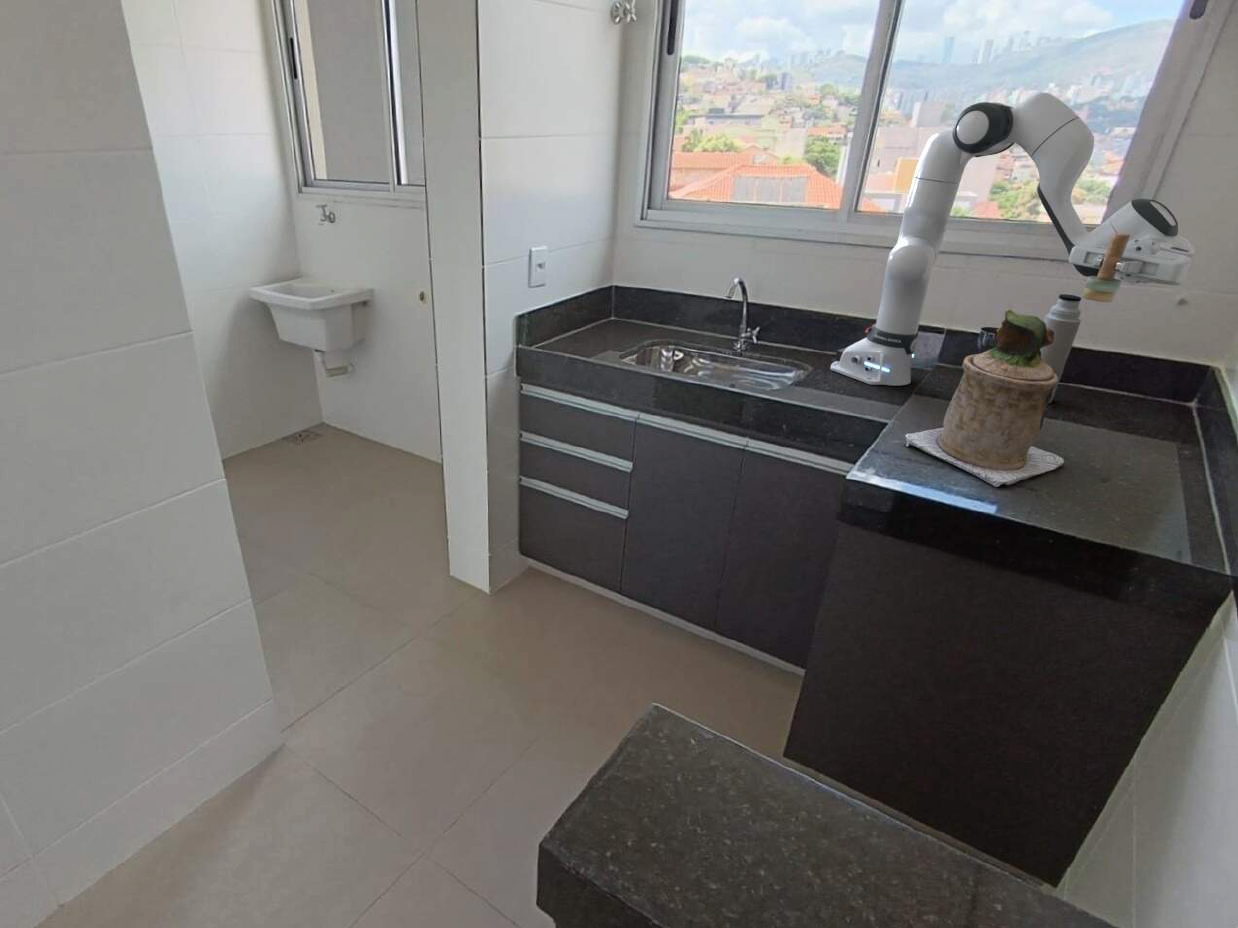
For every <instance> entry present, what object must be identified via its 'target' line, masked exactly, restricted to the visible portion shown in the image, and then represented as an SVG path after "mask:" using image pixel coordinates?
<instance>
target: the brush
mask: <svg viewBox="0 0 1238 928" xmlns="http://www.w3.org/2000/svg"><path fill="white" fill-rule="evenodd" d="M1129 237H1130V235H1128V234H1121V233H1113V235H1112V238H1111V240H1110V243H1109V246H1108V248H1107V251H1106V254H1105V257H1104V259H1103V262H1102V265H1101V267H1100V270H1099V273H1098V275H1097V276H1089V277H1087V280H1086V282H1085V285H1084V287H1085V288H1084V291H1083V294H1082V298H1083V299H1085V300H1089V301H1093V302H1098V303H1099V302H1100V303H1113V301H1114V299H1115V296H1116V294H1117V293H1118V292H1119V289H1120V286H1121V284H1122V280H1121V279H1118V278H1115V277H1116V271H1115V270H1114V269H1115V267H1116V264H1117V262H1118V261H1121V258H1122V256H1123V253H1124V250H1125V248H1126V245H1127V243H1128V240H1129Z"/></svg>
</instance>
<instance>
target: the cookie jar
mask: <svg viewBox="0 0 1238 928" xmlns="http://www.w3.org/2000/svg"><path fill="white" fill-rule="evenodd" d="M1004 313H1005V314H1004V319H1003V320H1002V321H1001V326H1000V327H998V328H999V329H998V330H997V332H998V335H997V337H998V345H997V347H995V348H993V349H990V350H988V351H986V352H984V353H982V354H981V353H977V354H970V355H967V356H965V358H964V359H963V362H962V369H963V374H962V376H961V379H960V381H959V384H958V386H957V387H956V390H955V391H954V394H953V395H952V398H951V400H950V403H949V405H948V407H947V408H946V412H945V415H944V418H943V427H940V428H938V427H937V428H935V429H926V430H924V431H923V430H922V431H916V432H912V433H906V434H905V436H904V437H905V439H906V445H905V447H909V446H910V445H911V446H913V447H916V448H918V449H920V450H921V451H923V452H925V453H927V454H929V455H930V456H933V457H936V458H938V459H940V460H943V461H945V462H946V463H949V464H951V465H953V466H956V467H958V468H959V469H962V470H963V471H965V472H968V473H969V474H972V476H973V475H974V476H975V477H977V478H979V479H981V480H982V481H984V482H986V483H988V484H990V485H992V486H994V487H996V488H998V487H1000V486H1001V485H1006V486H1011V485H1013V484H1016V483H1018V482H1020V481H1022V480H1023V481H1024V480H1027V479H1029V478H1033V477H1035V476H1038V475H1042V474H1045V473H1046V472H1050V471H1054V470H1057V468H1059V467H1061V466H1063V464H1064V463H1065V460H1064V458H1063V457H1060V456H1059V455H1058V454H1055V453H1052V452H1050V451H1046V450H1043V449H1041V448H1037V447H1035V446H1033V444H1034V443H1035V441H1036V440H1037V439H1038V437H1039V436H1040V435H1039V434H1040V431H1041V430H1042V428H1043V424H1044V420H1045V411H1046V407H1047V406H1048V405H1049V403H1048V402H1049V401H1050V399H1051V397H1052V390H1053V388H1054V386H1055V385H1056V384H1057V382H1058V378H1057V375H1056V374H1055V373H1054V372H1053V370H1052V368H1051V367H1050V366H1049V365H1048V364H1046V363H1045V362H1044V361H1043V360H1042V359H1041V351H1040V349H1041V348H1042V347H1044V346H1048V345H1050V344H1052V343H1053V342H1054V332H1053V330H1052V329H1050V328H1048V327H1046V324H1045V322H1044V320H1042V319H1041V318H1039V317H1038V316H1035V315H1029V314H1028V315H1027V314H1020V313H1017V312H1014V311H1013V310H1012V309H1010V308H1006V309H1005V312H1004Z"/></svg>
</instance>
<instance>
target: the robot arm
mask: <svg viewBox="0 0 1238 928" xmlns="http://www.w3.org/2000/svg"><path fill="white" fill-rule="evenodd" d="M1015 144H1016V145H1017V146H1019V147H1020V148H1022V150H1023V151H1025V152H1026V154H1027V155H1028V156H1029V157H1030V158H1031V160H1032V161H1033V162H1034V164H1035V166H1036V169H1037V171H1038V178H1039V179H1038V180H1039V181H1038V183H1037V186H1036V191H1037V196H1038V197H1039V200H1040V203H1041V204H1042V206H1043V209H1044V210H1045V212H1046V214H1047V216H1048V218H1049V219H1050V221H1051V223H1052V225H1053V227H1054V228H1055V230H1056V232H1057V233H1058V236H1059V237H1060V239H1061V241H1062V243H1063V244H1064V246H1065V249H1066V251H1067V253H1068V263H1069V264H1071V265H1073V267H1074V269H1075V270H1076V271H1077V272H1078V273H1079V274H1080V275H1082V276H1083V277H1087V278H1088V277H1089V276H1097V275H1098V273H1099V270H1100V267H1101V265H1102V262H1103V259H1104V257H1105V254H1106V251H1107V248H1108V246H1109V243H1110V240H1111V238H1112V235H1113V233H1121V234H1128V235H1130V237H1129V240H1128V243H1127V245H1126V248H1125V250H1124V253H1123V256H1122V258H1121V261H1118V262H1117V264H1116V267H1115V269H1114V270H1115V271H1116V274H1115V276H1117V278H1119V280H1121V281H1123V282H1125V283H1128V284H1162V285H1169V286H1183V284H1184V282H1185V281H1186V278H1187V277H1188V275H1189V273H1190V270H1191V269H1192V266H1193V263H1194V260H1195V256H1196V252H1195V248H1194V246H1193V244H1192V242H1191V241H1189V240H1188V239H1187V238H1185V237H1183V236H1181V235H1180V234H1179V223H1178V220H1177V219H1176V216H1175V215H1174V214H1173V213H1172V211H1171V210H1170V209H1169V208H1168V207H1167V206H1166V205H1164V203H1161V202H1160V201H1158V200H1154V199H1150V198H1135V199H1131V200H1130V201H1129V202H1128V203H1126V204H1125V205H1123V207H1121V208H1120V209H1118V210H1117V211H1116V212H1114V213H1113V214H1112V215H1111V216H1110V217H1109V218H1107V219H1106V220H1105V221H1103V222H1102V223H1101V224H1099V225H1098V226H1097V227H1096V228H1094V229H1093V230H1092V231H1089V232H1088V231H1087V229H1086V226H1085V225H1084V223H1083V222H1082V220H1081V218H1080V216H1079V214H1078V212H1076V209H1075V207H1074V206H1073V203H1072V194H1073V191H1074V188H1075V187H1076V184H1077V182H1078V180H1079V179H1080V177H1081V176H1082V174H1083V172H1084V171H1085V169H1086V168H1087V166H1088V165H1089V162H1090V160H1091V158H1092V155H1093V152H1094V149H1095V137H1094V134H1093V132H1092V131H1091V129H1090V128H1089V126H1088V125H1087V124H1086V123H1085V121H1084V120H1083V119H1082V118H1081V117H1080V116H1079V115H1078V114H1077V113H1076V112H1075V111H1074V110H1073V109H1072V108H1071V107H1070V106H1068V105H1067V104H1066V103H1064V102H1063V100H1061V99H1059V98H1058V97H1056V96H1055V95H1053V94H1051V93H1049V92H1038V93H1036V94H1033V95H1031V96H1030V97H1028V98H1027V99H1025V100H1023V101H1022V102H1021V103H1019V105H1017V106H1016V107H1013V106H1011V105H1007V104H1004V103H1001V102H996V101H995V102H990V101H989V102H988V101H982V102H977V103H973V104H972V105H969V106H968V107H965V109H963V110H962V111H961V112H959V114H958V115H957V117H956V118H955V120H954V123H953V126H952V130H942V131H939V132H936V133H935V134H933V135H931V137H930V138H928V140H927V141H926V144H925V146H924V149H923V151H922V152H921V155H920V157H919V160H918V163H917V166H916V168H915V171H914V174H913V178H912V182H911V184H910V189H909V192H908V195H907V199H906V202H905V206H904V210H903V216H902V220H901V225H900V229H899V233H898V237H897V241H896V244H895V246H894V247H893V248H892V249H891V250H890V252H889V254H888V256H887V262H886V267H885V273H884V279H883V285H882V291H881V292H882V293H881V299H880V304H879V308H878V313H877V318H876V321H875V323H874V324H872V326H869V327H868V328H866V329H865V334H866V337H864V338H862V339H861V340H858V341H856V342H854V343H853V344H850V345H849V346H847V347H844V348H840V349H838V350H836V354H835V360H836V361H835V360H834V361H833V362H832V363H831V364H830V367H829V369H830V371H833V372H836V373H838V374H841V375H844V376H846V377H849V378H851V379H855V380H857V381H859V382H862V383H864V384H868V385H870V386H871V385H872V386H880V385H881V386H882V385H883V386H891V387H892V386H894V387H895V386H898V387H899V386H906V385H909V384H911V382H912V360H913V358H914V357H915V354H914V352H915V350H916V347H917V344H918V337H919V332H918V329H919V327H920V322H921V319H922V315H923V310H924V307H925V301H926V297H927V291H928V286H929V282H930V278H931V273H932V270H933V267H934V265H935V264H936V261H937V260H938V257H939V253H940V249H941V247H942V243H943V239H944V236H945V233H946V229H947V226H948V222H949V219H950V216H951V211H952V210H953V206H954V202H955V199H956V196H957V193H958V191H959V187H960V185H961V181H962V177H963V175H964V171H965V168H966V167H967V164H968V163H969V162H970V161H971V160H972V159H973V158H980V157H987V156H994V155H998V154H1002V153H1003V152H1005V151H1008V149H1010V148H1011V147H1013V146H1014V145H1015Z"/></svg>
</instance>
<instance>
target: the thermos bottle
mask: <svg viewBox="0 0 1238 928" xmlns="http://www.w3.org/2000/svg"><path fill="white" fill-rule="evenodd" d="M1081 301H1082V297H1081V296H1078V295H1074V294H1067V293H1066V294H1065V293H1062V294H1059V296H1058V299H1057V301H1056V304H1055V305H1052V306H1051V308H1050V310H1049V313H1047V314H1045V317H1044V319H1043V321H1044V322H1045V324H1046V327H1048V328H1050V329H1052V330H1053V332H1054V342H1053V343H1052V344H1050V345H1048V346H1044V347H1042V348H1041V349H1040V351H1041V359H1042V360H1043V361H1044V362H1045V363H1046V364H1048V365H1049V366H1050V367H1051V368H1052V370H1053V372H1054V373H1055V374H1056V375H1057V378H1058V382H1057V384H1056V385H1055V386H1054V388H1053V390H1052V397H1051V399H1050V401H1049V402H1048V404H1051V403H1052V402H1053V400H1054V398H1055V394H1056V392H1057V389H1058V386H1059V383H1060V381H1061V378H1062V375H1063V372H1064V369H1065V364H1066V362H1067V360H1068V358H1069V355H1070V353H1071V351H1072V348H1073V344H1074V342H1075V340H1076V336H1077V334H1078V330H1079V328H1080V325H1081V322H1082V320H1081V319H1080V316H1081V313H1082V311H1081V309H1079V307H1080V302H1081Z"/></svg>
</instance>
